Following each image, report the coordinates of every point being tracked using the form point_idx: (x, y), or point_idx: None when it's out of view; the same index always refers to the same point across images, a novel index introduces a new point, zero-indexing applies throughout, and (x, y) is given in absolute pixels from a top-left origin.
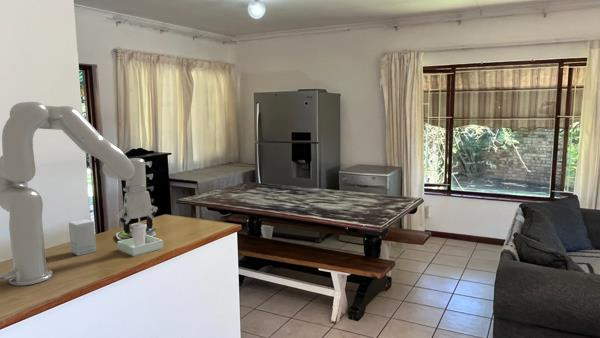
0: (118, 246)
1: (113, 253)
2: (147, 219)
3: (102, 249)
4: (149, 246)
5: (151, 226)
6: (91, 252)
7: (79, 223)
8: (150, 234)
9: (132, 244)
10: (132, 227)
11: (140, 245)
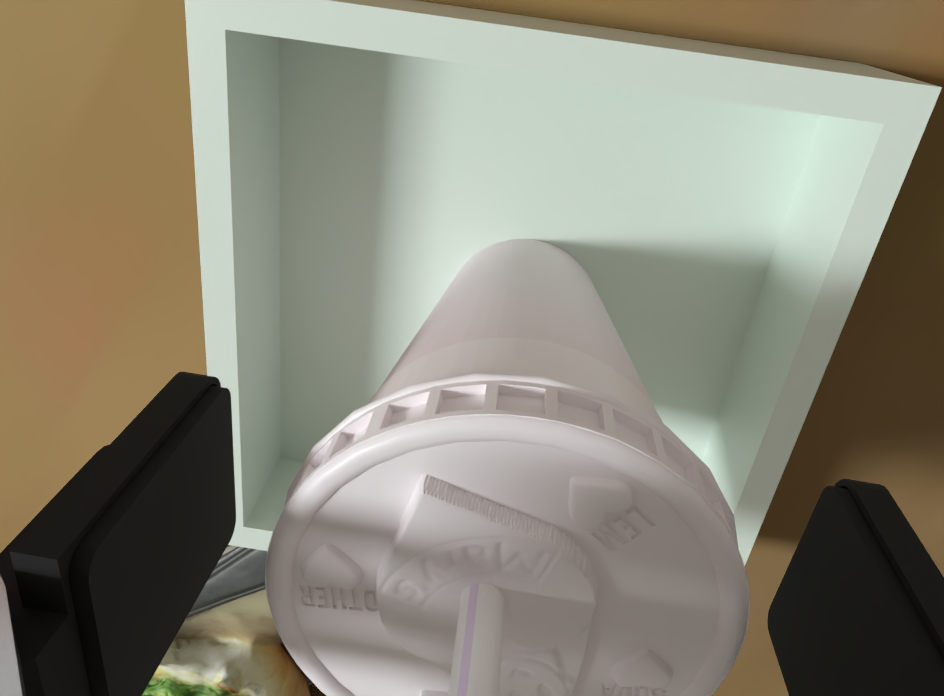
0: None
1: (839, 464)
2: (115, 679)
3: (759, 673)
4: (535, 24)
5: (174, 400)
6: None
7: None
8: None
9: None
10: (735, 596)
11: (731, 91)
